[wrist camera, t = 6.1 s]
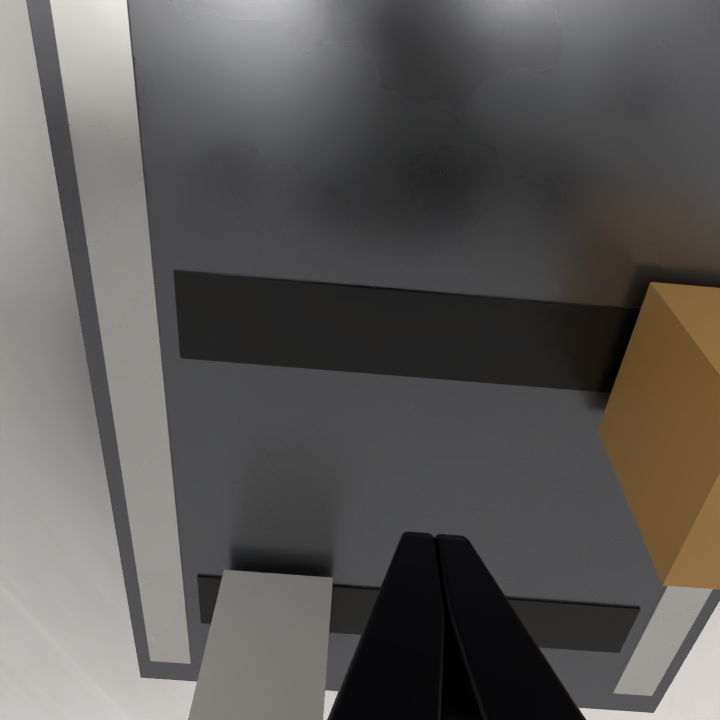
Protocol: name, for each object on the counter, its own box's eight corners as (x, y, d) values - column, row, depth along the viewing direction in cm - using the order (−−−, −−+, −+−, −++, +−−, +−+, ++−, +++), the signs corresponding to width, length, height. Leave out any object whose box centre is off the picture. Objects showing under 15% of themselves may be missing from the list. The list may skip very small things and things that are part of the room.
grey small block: (325, 659, 19) (314, 815, 16) (227, 653, 19) (195, 807, 16) (332, 577, 17) (321, 734, 14) (223, 569, 17) (186, 725, 14)
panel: (633, 654, 23) (654, 714, 21) (158, 620, 22) (140, 679, 21) (1257, -563, 9) (1479, -686, 7) (-20, -715, 8) (-127, -886, 6)
